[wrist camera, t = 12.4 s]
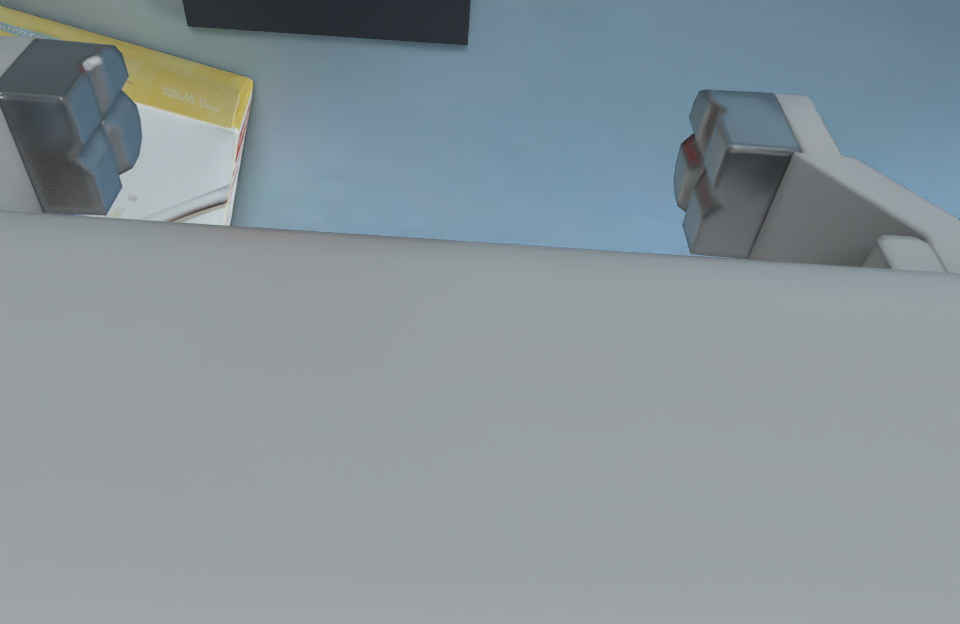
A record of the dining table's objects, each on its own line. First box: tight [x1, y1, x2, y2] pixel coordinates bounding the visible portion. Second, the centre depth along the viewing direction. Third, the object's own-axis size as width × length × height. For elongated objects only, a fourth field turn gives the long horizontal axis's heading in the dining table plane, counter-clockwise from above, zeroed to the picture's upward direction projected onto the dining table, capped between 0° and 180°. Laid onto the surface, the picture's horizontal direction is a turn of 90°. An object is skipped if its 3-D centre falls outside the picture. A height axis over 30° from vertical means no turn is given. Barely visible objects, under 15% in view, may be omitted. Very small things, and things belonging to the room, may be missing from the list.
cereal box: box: [0, 6, 254, 226], centre depth 43 cm, size 20×6×28 cm
